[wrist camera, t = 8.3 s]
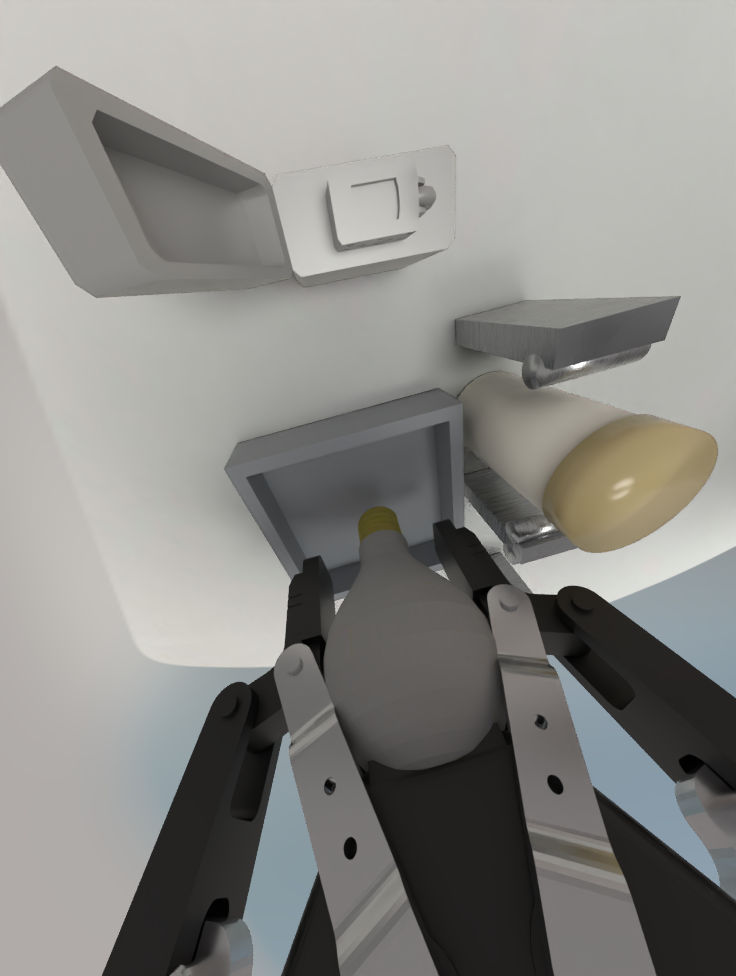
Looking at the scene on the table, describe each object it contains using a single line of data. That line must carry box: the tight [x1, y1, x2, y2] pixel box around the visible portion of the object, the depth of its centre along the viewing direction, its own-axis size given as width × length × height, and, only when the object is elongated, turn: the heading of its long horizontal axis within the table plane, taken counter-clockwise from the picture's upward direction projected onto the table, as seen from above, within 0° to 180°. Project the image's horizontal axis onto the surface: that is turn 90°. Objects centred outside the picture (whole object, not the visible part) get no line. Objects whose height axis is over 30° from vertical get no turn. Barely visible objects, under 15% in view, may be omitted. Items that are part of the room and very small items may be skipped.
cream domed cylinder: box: [457, 371, 718, 553], centre depth 11 cm, size 4×4×8 cm
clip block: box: [455, 296, 681, 594], centre depth 14 cm, size 3×17×6 cm, turn 12°
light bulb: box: [323, 506, 506, 772], centre depth 10 cm, size 6×6×10 cm
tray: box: [224, 388, 464, 601], centre depth 15 cm, size 10×10×2 cm
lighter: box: [0, 66, 456, 298], centre depth 7 cm, size 7×2×8 cm, turn 99°
